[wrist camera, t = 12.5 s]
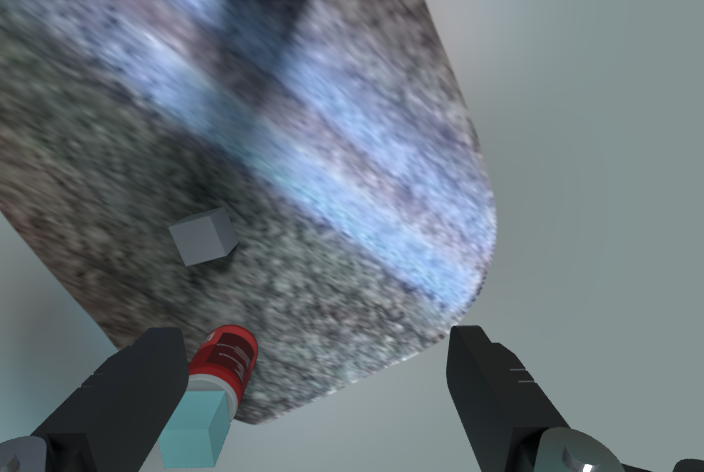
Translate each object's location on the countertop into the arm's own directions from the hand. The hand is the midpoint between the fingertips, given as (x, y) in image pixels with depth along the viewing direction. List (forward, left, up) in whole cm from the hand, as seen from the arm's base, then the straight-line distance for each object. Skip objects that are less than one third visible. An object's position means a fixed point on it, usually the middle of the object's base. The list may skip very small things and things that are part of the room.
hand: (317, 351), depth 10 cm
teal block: (+24, -15, -22) cm, 36 cm away
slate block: (+6, -16, -33) cm, 37 cm away
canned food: (+24, -15, -33) cm, 44 cm away
